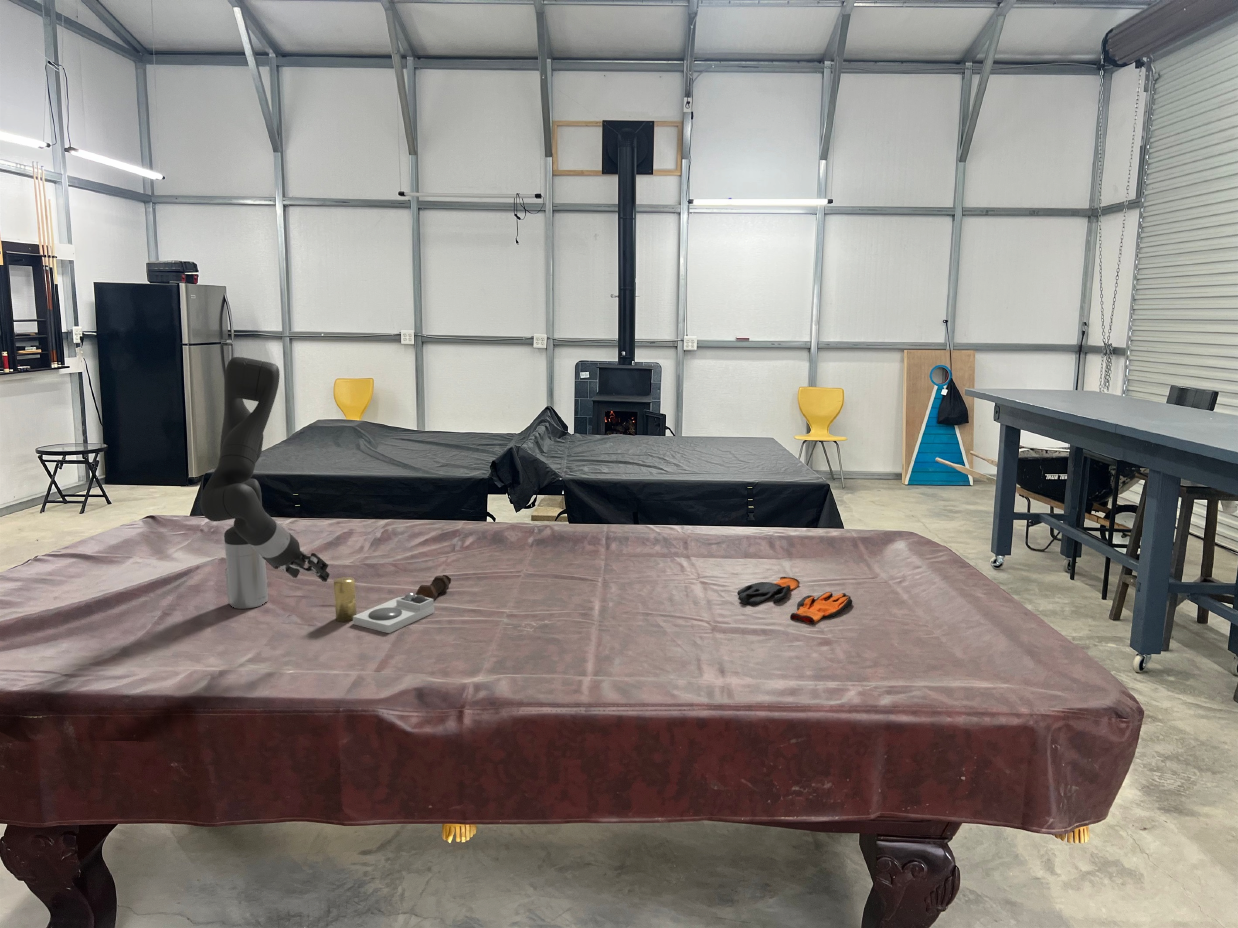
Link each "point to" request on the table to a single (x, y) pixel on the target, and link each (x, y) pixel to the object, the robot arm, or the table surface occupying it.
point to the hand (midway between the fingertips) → (311, 576)
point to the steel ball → (409, 597)
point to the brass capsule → (345, 599)
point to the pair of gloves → (806, 606)
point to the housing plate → (394, 614)
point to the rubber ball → (419, 599)
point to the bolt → (434, 587)
